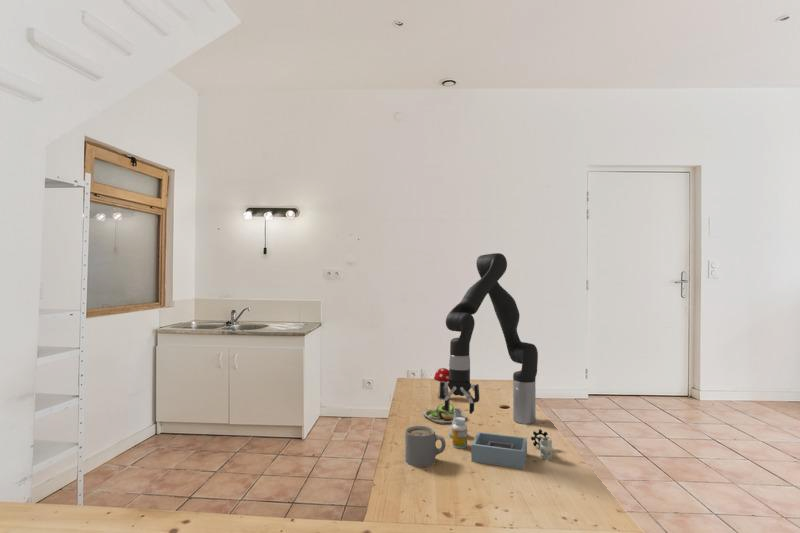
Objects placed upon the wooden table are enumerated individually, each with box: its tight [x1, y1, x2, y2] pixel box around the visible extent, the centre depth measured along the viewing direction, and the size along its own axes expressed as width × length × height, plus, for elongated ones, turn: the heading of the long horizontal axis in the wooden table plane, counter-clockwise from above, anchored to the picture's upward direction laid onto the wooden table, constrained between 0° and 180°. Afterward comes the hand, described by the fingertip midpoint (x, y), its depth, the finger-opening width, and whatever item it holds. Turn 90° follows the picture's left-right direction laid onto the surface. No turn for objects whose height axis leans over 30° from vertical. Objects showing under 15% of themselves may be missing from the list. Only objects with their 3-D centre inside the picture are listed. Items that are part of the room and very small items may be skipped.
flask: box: [448, 408, 463, 438], centre depth 173 cm, size 7×7×10 cm
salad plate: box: [423, 402, 467, 425], centre depth 193 cm, size 19×18×5 cm
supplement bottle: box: [451, 417, 468, 449], centre depth 162 cm, size 5×5×10 cm
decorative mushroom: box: [433, 367, 450, 400], centre depth 225 cm, size 10×9×15 cm
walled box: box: [470, 431, 528, 470], centre depth 152 cm, size 13×17×6 cm
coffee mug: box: [404, 425, 447, 468], centre depth 149 cm, size 13×10×10 cm
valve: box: [530, 429, 554, 461], centre depth 155 cm, size 7×7×12 cm
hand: (459, 411), depth 162 cm, fingers open, 8 cm apart
